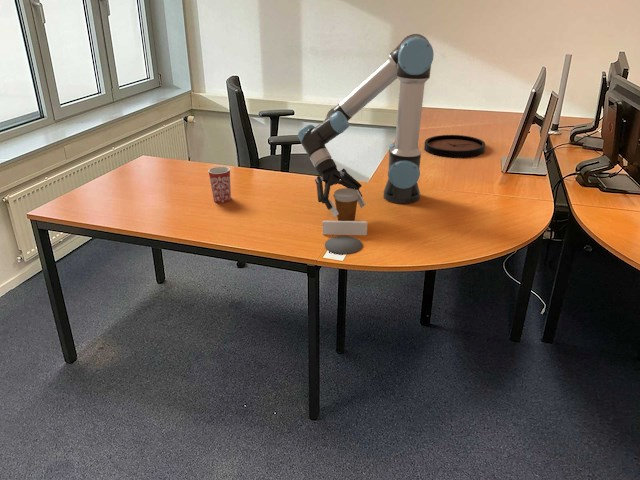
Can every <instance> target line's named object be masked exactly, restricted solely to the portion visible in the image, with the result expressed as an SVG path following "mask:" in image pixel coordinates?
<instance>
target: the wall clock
mask: <svg viewBox="0 0 640 480" xmlns="http://www.w3.org/2000/svg"><path fill="white" fill-rule="evenodd" d="M423 147H424V151H425V152H426V153H428V154H429V155H432V156H436V157H440V158H447V159H470V158H475V157H478V156H482V155H483V154H485V152H486V142H485V141H483V139H480V138H477V137H473V136H470V135H461V134H441V135H435V136H431V137H428V138H426V139H425V140H424V146H423Z"/></svg>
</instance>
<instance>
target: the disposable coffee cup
mask: <svg viewBox="0 0 640 480" xmlns="http://www.w3.org/2000/svg"><path fill="white" fill-rule="evenodd" d="M358 197H359V194H358V191H357V190H355V188H354V189H350V188H346V187H343V188H339V189H336V190H335V191H334V194H333V198H334V202H335V204H334V205H335V207H336V209H337V211H338V213H339V214H338V215H337V216H336V218H337V221H356V212H357V208H358V206H357V205H358V202H357V200H358Z"/></svg>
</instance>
